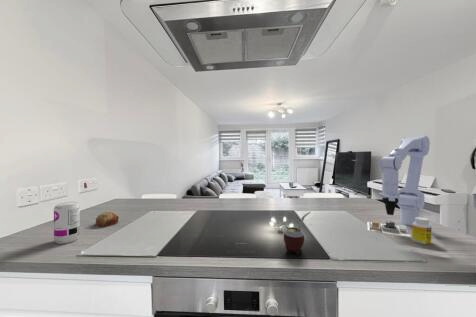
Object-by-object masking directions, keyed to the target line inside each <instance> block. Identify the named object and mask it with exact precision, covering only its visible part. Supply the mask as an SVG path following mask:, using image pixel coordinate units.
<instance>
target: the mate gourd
mask: <svg viewBox="0 0 476 317" xmlns="http://www.w3.org/2000/svg"><path fill="white" fill-rule="evenodd" d="M310 213H311V211H309V212H307V213H305V214H304V215H303V216H302V217H301V220H300V222H299V225H298V227H287V228H286V229H285V230H284V233H283V242H284V244H285V249H286V251H285V254H287V255H289V254H295V256H297V257H300V256H301V254H300V252H302V247H303V246H304V242H305V236H304V232H303V231H302V229H301V227H302V224H303V221H305V218H306V217H307V216H308V215H309V214H310Z"/></svg>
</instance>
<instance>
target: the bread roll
mask: <svg viewBox="0 0 476 317" xmlns="http://www.w3.org/2000/svg"><path fill="white" fill-rule="evenodd" d="M118 222H119V215H117V214H116V213H114V212H111V211H103V212H101V213H99V214H98V215H97V216H96V218H95V224H94V226H96V227H97V228H105V227H109V226H110V227H111V226H114V225H117V224H118Z"/></svg>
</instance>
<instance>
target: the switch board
mask: <svg viewBox="0 0 476 317" xmlns="http://www.w3.org/2000/svg"><path fill="white" fill-rule="evenodd" d="M366 223H367V231H369V232H377V233H383V234H389V235H396V236H402V237H409V238H412V234H410V232H409V231H408V229H407V232H404V231H400V229H399V225H395V228H389V227H386V223H381V222H379V230H375V229H372V221H367V222H366Z"/></svg>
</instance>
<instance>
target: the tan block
mask: <svg viewBox="0 0 476 317" xmlns="http://www.w3.org/2000/svg"><path fill="white" fill-rule="evenodd" d="M371 222H372V229H375V230H379V223H380V222H379V221H378V220H372V221H371Z"/></svg>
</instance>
